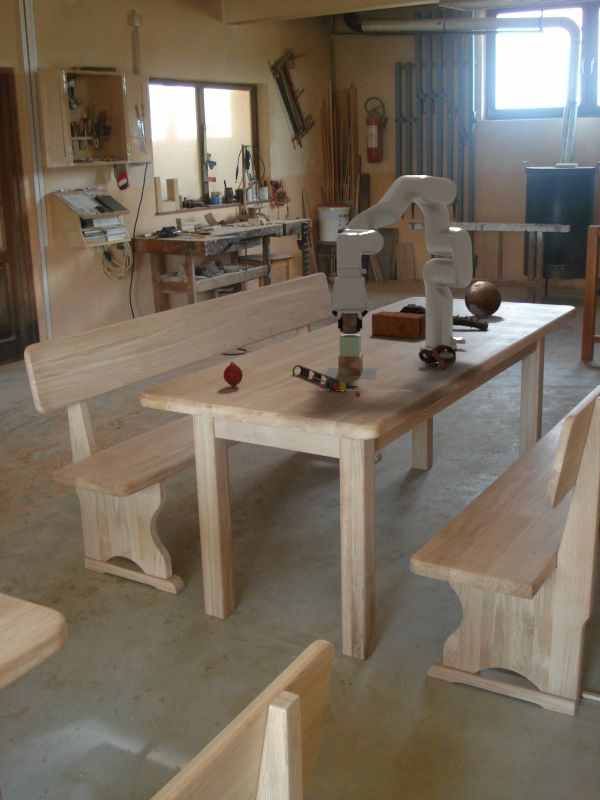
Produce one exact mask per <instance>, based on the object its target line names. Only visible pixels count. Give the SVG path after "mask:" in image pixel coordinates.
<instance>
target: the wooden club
mask: <svg viewBox="0 0 600 800" xmlns="http://www.w3.org/2000/svg"><path fill="white" fill-rule="evenodd" d="M398 312H399V313H412V314H425V307H424V306H422V305H416V303H408V304H407V305H405V306H403V307H402V308H401V310H399V311H398ZM453 326H458V327H459V326H461V327H468V328H470V329H472V328H474V329H478V330H481V331H487V330H488V328H489V323H488V322H487V321H482V320H480V317H477V318H474V315H473V316H470V317H468V315H465V316H460V314H459V313H458V314H457V315H453Z"/></svg>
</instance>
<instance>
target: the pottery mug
mask: <svg viewBox="0 0 600 800" xmlns="http://www.w3.org/2000/svg"><path fill="white" fill-rule="evenodd" d="M445 349H446V350H448V351H447V352H448V353H449V354H452V356H450V357H442V355H441V354H442V353H444V352H445V351H444V350H445ZM424 355H425V356H424ZM456 356H457V353H456V351H455V350H454V349H453V348H451V347H449V346H446V345H437V346H435V348H434V349H432V350H427V349H420V350H419V352H418V357H419V359H420V360H421V361H422V362H423V363H425V366H426V365H427V366H429V365H428V364H430V365H432V364H435V362H439V363H438V365H437V370H439V369H443V370H444V369H445V368H447V367H450V366H452V365H454V364H455V363H456V360H457V357H456ZM431 363H432V364H431Z"/></svg>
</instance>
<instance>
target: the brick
mask: <svg viewBox="0 0 600 800" xmlns="http://www.w3.org/2000/svg"><path fill="white" fill-rule="evenodd" d="M399 312H400V311H385V310H381V311H378V312H374V313H372V315H371V334H372V335H373V336H378V335H379V337H388V338H398V339H407V340H420V339H422V338H425V314H412V313H399Z"/></svg>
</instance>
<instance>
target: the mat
mask: <svg viewBox="0 0 600 800" xmlns="http://www.w3.org/2000/svg"><path fill="white" fill-rule="evenodd" d="M378 369H379V368H378V367H363V371H362V374H361V376H342V375H338V367H328V368H327V370H326V371H325V374H324V375H327V376H329V377H332V378H334V379H367V380H368V379H369V380H371V379H372V380H374V379H376V378H375V377H376V375H377V371H378ZM327 378H328V377H327ZM322 379H326V377H325V376H323V377H322Z"/></svg>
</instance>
